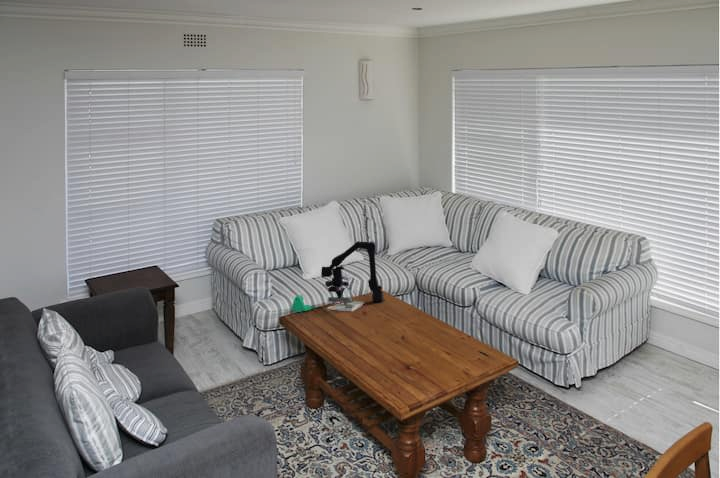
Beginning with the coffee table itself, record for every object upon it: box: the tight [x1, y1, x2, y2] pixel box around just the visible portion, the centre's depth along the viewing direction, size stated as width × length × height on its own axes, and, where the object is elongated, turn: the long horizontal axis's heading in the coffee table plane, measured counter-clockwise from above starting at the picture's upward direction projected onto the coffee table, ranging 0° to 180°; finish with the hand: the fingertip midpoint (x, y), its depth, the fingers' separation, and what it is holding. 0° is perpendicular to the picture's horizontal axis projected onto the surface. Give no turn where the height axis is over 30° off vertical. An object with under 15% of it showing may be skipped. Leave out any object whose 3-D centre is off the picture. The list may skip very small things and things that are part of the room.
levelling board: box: [326, 300, 365, 312], centre depth 388 cm, size 18×18×4 cm
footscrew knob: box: [327, 296, 353, 305], centre depth 391 cm, size 17×6×4 cm, turn 64°
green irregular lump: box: [291, 294, 314, 313], centre depth 389 cm, size 12×8×10 cm, turn 53°
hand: (339, 299), depth 398 cm, fingers closed
